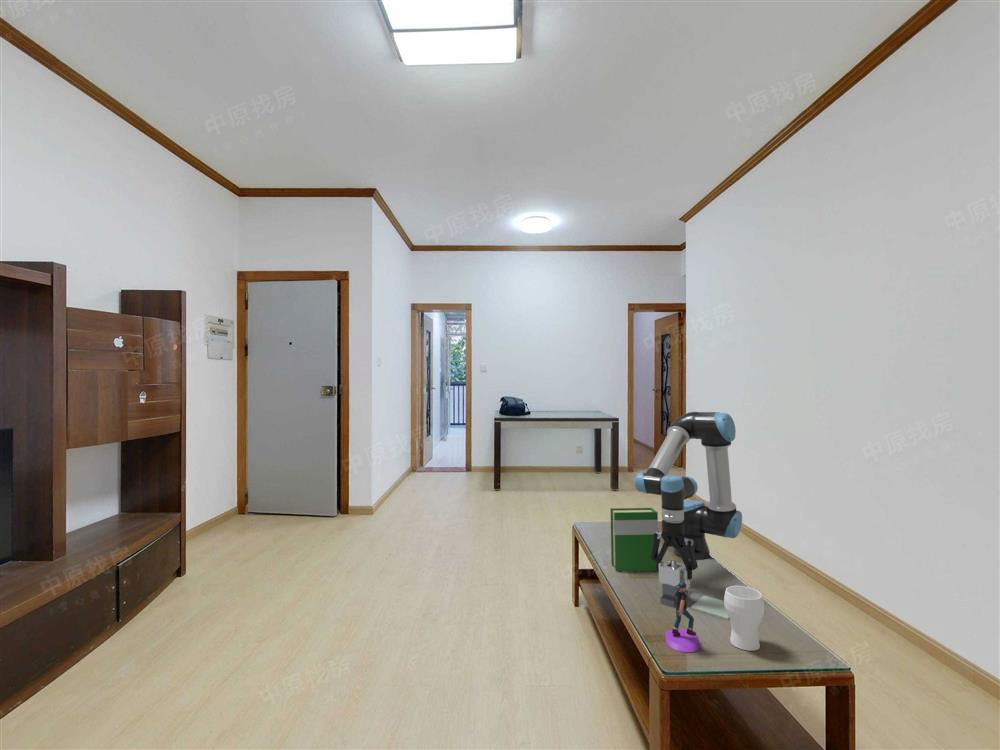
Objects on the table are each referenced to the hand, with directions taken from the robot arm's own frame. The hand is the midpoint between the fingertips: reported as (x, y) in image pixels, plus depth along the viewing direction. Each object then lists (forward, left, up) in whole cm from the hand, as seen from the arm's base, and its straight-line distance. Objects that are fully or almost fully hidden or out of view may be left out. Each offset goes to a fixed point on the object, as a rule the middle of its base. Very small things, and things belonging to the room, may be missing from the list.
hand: (674, 584), depth 171 cm
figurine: (+26, +14, -6) cm, 30 cm away
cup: (+15, +28, -6) cm, 32 cm away
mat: (-3, +13, -5) cm, 14 cm away
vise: (-2, 0, -5) cm, 6 cm away
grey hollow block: (0, 0, +1) cm, 1 cm away
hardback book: (-18, -25, -6) cm, 31 cm away
